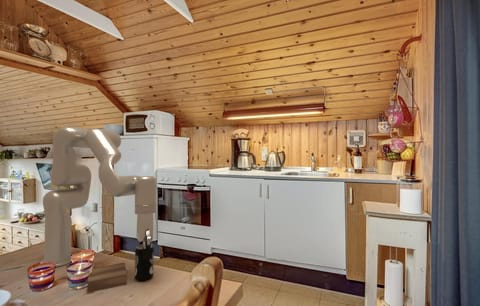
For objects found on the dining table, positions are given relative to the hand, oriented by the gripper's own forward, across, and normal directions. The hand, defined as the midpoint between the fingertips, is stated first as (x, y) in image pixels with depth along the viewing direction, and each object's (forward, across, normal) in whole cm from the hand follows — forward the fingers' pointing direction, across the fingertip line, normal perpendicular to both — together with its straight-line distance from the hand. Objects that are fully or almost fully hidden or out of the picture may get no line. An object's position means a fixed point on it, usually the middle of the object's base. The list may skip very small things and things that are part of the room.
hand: (145, 254), depth 92 cm
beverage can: (+9, 0, 0) cm, 9 cm away
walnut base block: (+8, -4, -12) cm, 16 cm away
